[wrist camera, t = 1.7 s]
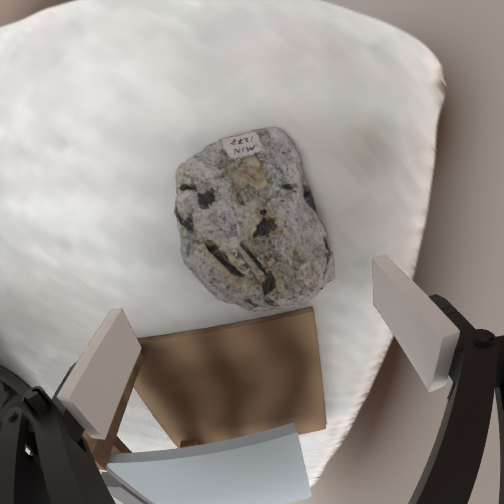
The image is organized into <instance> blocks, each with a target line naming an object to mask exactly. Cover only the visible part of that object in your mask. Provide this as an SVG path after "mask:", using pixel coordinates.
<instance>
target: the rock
mask: <svg viewBox="0 0 504 504" xmlns="http://www.w3.org/2000/svg"><path fill="white" fill-rule="evenodd" d="M301 166H302V162H301V159H300V155H299V153H298V152H297V151H296V149H295V145H294V143H293V142H292V140H291V139H290V138H289V137H288V136H287V135H286V134H285V133H284V132H282V131H281V130H279V129H276V128H267V129H259V130H252V131H250V132H248V133H246V134H243V135H240V136H233V137H228V138H224V139H220V140H219V141H217V142H216V143H213V144H210V145H209V146H207V147H205V148H204V150H203V151H202V152H200V153H197V154H195V155H194V156H192V157H191V158H189V159H188V160H187V161H186V162H185V163H181V164H180V166H179V167H178V169H177V171H176V191H177V197H176V202H175V210H174V214H175V215H176V217H177V222H178V229H179V232H180V238H181V253H182V257H183V260H184V263H185V264H186V265H187V267H188V268H189V269H190V270H191V271H192V272H193V273H194V275H195V276H196V277H197V278H198V279H199V280H200V281H201V282H202V283H203V284H204V286H205V287H206V288H207V289H208V290H209V291H210V292H211V293H212V294H213V295H214V296H215V297H216V298H217V299H219V300H222V301H224V302H226V303H231V304H234V303H236V304H237V305H240V306H241V307H242V308H244V309H246V310H249V311H259V310H261V311H267V310H273V309H276V308H277V307H278V308H295V307H298V306H300V305H303V304H306V303H307V302H308V301H310V300H311V299H312V298H313V297H314V296H316V295H317V294H318V292H319V290H320V289H323V287H324V285H325V284H326V283H327V282H330V281H332V280H333V279H334V278H335V272H334V259H333V253H332V252H331V251H330V250H329V248H328V245H327V241H326V239H327V236H326V229H325V226H324V224H323V223H322V222H321V221H320V220H319V219H318V215H317V211H316V207H315V204H314V200H313V197H312V194H311V191H310V189H309V187H308V185H307V182H306V180H305V176H304V173H303V170H302V168H301Z"/></svg>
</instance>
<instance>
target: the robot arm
mask: <svg viewBox="0 0 504 504" xmlns="http://www.w3.org/2000/svg"><path fill="white" fill-rule="evenodd" d="M372 270H373V305H374V306H375V308H376V309H377V311H378V312H379V313H380V315H381V316H382V318H383V319H384V321H385V322H386V324H387V325H388V327H389V329H390V330H391V332H392V333H393V335H394V336H395V338H396V339H397V341H398V342H399V344H400V346H401V347H402V349H403V350H404V352H405V353H406V355H407V357H408V358H409V360H410V361H411V363H412V365H413V366H414V368H415V369H416V371H417V373H418V374H419V376H420V378H421V379H422V381H423V383H424V384H425V386H426V388H427V389H428V391H429V392H431V391H434V390H436V389H438V388H441V387H443V386H445V385H446V382H447V379H448V375H449V376H450V378H451V379H452V381H453V384H452V387H451V390H450V392H449V395H448V398H447V399H448V402H447V406H446V409H445V413H444V416H443V420H442V422H441V426H440V429H439V432H438V435H437V438H436V440H435V443H434V446H433V449H432V451H431V454H430V456H429V459H428V462H427V464H426V466H425V469H424V471H423V473H422V476H421V478H420V480H419V482H418V484H417V487H416V489H415V491H414V493H413V495H412V497H411V499H410V501H409V503H408V504H467V503H468V501H469V498H470V495H471V492H472V489H473V486H474V483H475V480H476V477H477V474H478V470H479V467H480V463H481V459H482V456H483V452H484V447H485V443H486V438H487V433H488V429H489V424H490V418H491V412H492V404H493V398H494V389H495V394H496V402H497V410H498V419H499V433H500V461H501V462H500V463H501V464H500V465H501V466H500V469H501V470H500V493H499V504H504V335H503V336H498V337H495V335H494V334H493V333H491V332H490V331H488V330H484V329H475V328H474V327H473V326H472V325H471V324H470V323H469V322H468V321H467V320H466V319H465V318H464V317H463V316H462V315H461V314H460V313H459V312H457V310H456V309H455V308H454V307H452V305H451V304H450V303H449V302H448V301H447V300H446V299H445V298H443V297H441V296H439V295H437V294H435V295H432V296H429V297H428V296H427V295H426V294H425V293H424V292H423V291H422V290H421V289H420V288H419V287H418V286H417V285H416V284H415V283H414V282H413V281H412V280H411V279H410V278H409V277H408V276H407V275H406V274H405V273H404V272H403V271H402V270H401V269H400V268H399V267H398V266H397V265H396V264H395V263H394V262H393V261H392V260H390V259H389V258H388V257H387V256H386V255H383V256H379V257H374V258H372ZM140 351H141V346H140V344H139V342H138V340H137V338H136V336H135V334H134V332H133V330H132V328H131V326H130V324H129V322H128V320H127V317H126V315H125V313H124V311H123V309H116V310H111V311H110V312H109V314H108V315H107V317H106V318H105V320H104V321H103V323H102V324H101V326H100V327H99V329H98V330H97V332H96V333H95V335H94V336H93V338H92V339H91V341H90V343H89V344H88V346H87V347H86V349H85V350H84V352H83V353H82V355H81V357H80V358H79V360H78V361H77V362H76V363H75V364H74V365H73V366H72V367H71V368H70V369H69V371H68V373H67V374H66V376H65V377H64V379H63V382H61V384H60V386H59V387H58V389H57V391H56V393H55V394H54V396H53V398H52V399H50V397H49V396H48V395H47V394H46V392H45V391H44V390H43V388H42V387H40V386H37V387H33V388H30V387H29V386H28V385H27V384H25V383H24V382H23V381H22V380H21V379H20V378H18V377H17V376H16V375H14V374H13V373H11V372H10V371H8V370H7V369H5V368H3V367H1V366H0V504H116V503H115V502H114V500H113V498H112V496H111V494H110V492H109V490H108V488H107V486H106V484H105V482H104V480H103V478H102V476H101V474H100V472H99V469H98V467H97V465H96V463H95V460H94V458H93V456H92V453H91V451H90V448H89V446H88V443H87V441H86V439H85V438H84V437H83V436H82V435H83V433H84V430H85V431H86V432H87V433H88V434H89V436H90V437H91V438H95V439H104V440H105V438H106V436H107V433H108V430H109V428H110V425H111V422H112V420H113V417H114V414H115V412H116V409H117V407H118V404H119V402H120V399H121V396H122V394H123V391H124V389H125V387H126V384H127V382H128V379H129V377H130V374H131V372H132V370H133V367H134V365H135V362H136V360H137V358H138V355H139V353H140ZM26 447H27V448H28V449H29V450H30V455H28V454H27V453H26V452H25V449H26Z"/></svg>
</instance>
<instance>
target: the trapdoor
mask: <svg viewBox="0 0 504 504" xmlns="http://www.w3.org/2000/svg"><path fill="white" fill-rule="evenodd" d="M106 471H107V472H102V475H101V476H102V478H103V480H104V482H105V484H106V486H107V488H108V490H109V492H110V494H111V495H112V496H113V497H115V498H116V499H118V500H119V501H121V502H122V503H124V504H289V503H292V502H296V501H299V500H303V499H306V498H309V497H311V496H312V495H311V491H310V486H309V482H308V477H307V473H306V468H305V464H304V459H303V455H302V450H301V446H300V441H299V437H298V432H297V430H296V427H295V424H294V422H293V423H290V424H287V425H283V426H280V427H277V428H273V429H269V430H266V431H262V432H258V433H254V434H250V435H246V436H242V437H238V438H233V439H228V440H224V441H219V442H214V443H208V444H203V445H197V446H190V447H184V448H176V449H169V450H160V451H150V452H138V453H121V454H110V457H109V460H108V464H107V467H106Z"/></svg>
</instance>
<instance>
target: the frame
mask: <svg viewBox="0 0 504 504" xmlns="http://www.w3.org/2000/svg"><path fill="white" fill-rule="evenodd" d="M137 340H138V342H139V344H140V346H141V351H140V353H139V355H138V358H137V360H136V362H135V365H134V367H133V370H132V372H131V374H130V377H129V379H128V382H127V384H126V387H125V389H124V391H123V394H122V396H121V399H120V402H119V404H118V407H117V409H116V412H115V414H114V417H113V420H112V422H111V425H110V428H109V430H108V433H107V436H106V438H105V440H104V439H95V438H91V437H90V436H89V434H88V433H87V432H86V431H85V430H84V433H83V435H82V436H83V437H84V438H85V439H86V441H87V443H88V446H89V448H90V451H91V453H92V456H93V458H94V460H95V463H96V465H97V467H98V469H101V470H106V467H107V464H108V460H109V457H110V454H121V453H132V452H131V451H130V450H129V449H128V448H127V447H126V446H125V445H124V443H123V442H122V441H121V440H120V439H119V438H118V437H117V436H116V435H117V432H118V429H119V426H120V423H121V420H122V417H123V414H124V412H125V409H126V406H127V403H128V400H129V397H130V395H131V392H132V389H133V386H134V388H135V389H136V391H137V393H138V394H139V396H140V397H141V399H142V400H143V401H144V403H145V404H146V406H147V407H148V409H149V410H150V412H151V413H152V414H153V416H154V417H155V419H156V420H157V421H158V423H159V424H160V425H161V427H162V428H163V429H164V431H165V432H166V433H167V435H168V436H169V437H170V439H171V440H172V441H173V442H174V444H175V445H176V446H177V447H178V448H184V447H190V446H197V445H203V444H208V443H214V442H219V441H224V440H228V439H233V438H238V437H242V436H246V435H250V434H254V433H258V432H262V431H266V430H269V429H273V428H277V427H280V426H283V425H287V424H290V423H293V422H294V424H295V427H296V430H297V432H298V435H300V434H305V433H310V432H314V431H319V430H323V429H326V421H325V409H324V398H323V388H322V378H321V368H320V360H319V351H318V343H317V334H316V327H315V319H314V312H313V309H312V307H309V308H305V309H300V310H296V311H291V312H287V313H282V314H278V315H273V316H268V317H263V318H258V319H253V320H248V321H243V322H238V323H233V324H227V325H222V326H216V327H210V328H205V329H199V330H192V331H186V332H180V333H173V334H167V335H160V336H153V337H145V338H138V339H137Z"/></svg>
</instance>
